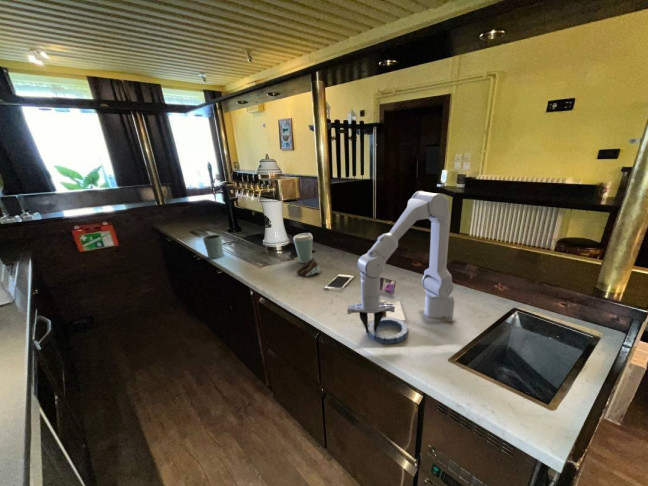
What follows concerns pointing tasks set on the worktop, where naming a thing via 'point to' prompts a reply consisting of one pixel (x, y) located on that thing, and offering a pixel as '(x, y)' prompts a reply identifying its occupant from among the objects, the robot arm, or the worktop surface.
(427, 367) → the worktop surface
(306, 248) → the disposable coffee cup
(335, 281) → the cell phone
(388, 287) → the purple printed box
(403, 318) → the platform
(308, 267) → the chocolate cake
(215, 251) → the grey green cup
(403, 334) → the ring
